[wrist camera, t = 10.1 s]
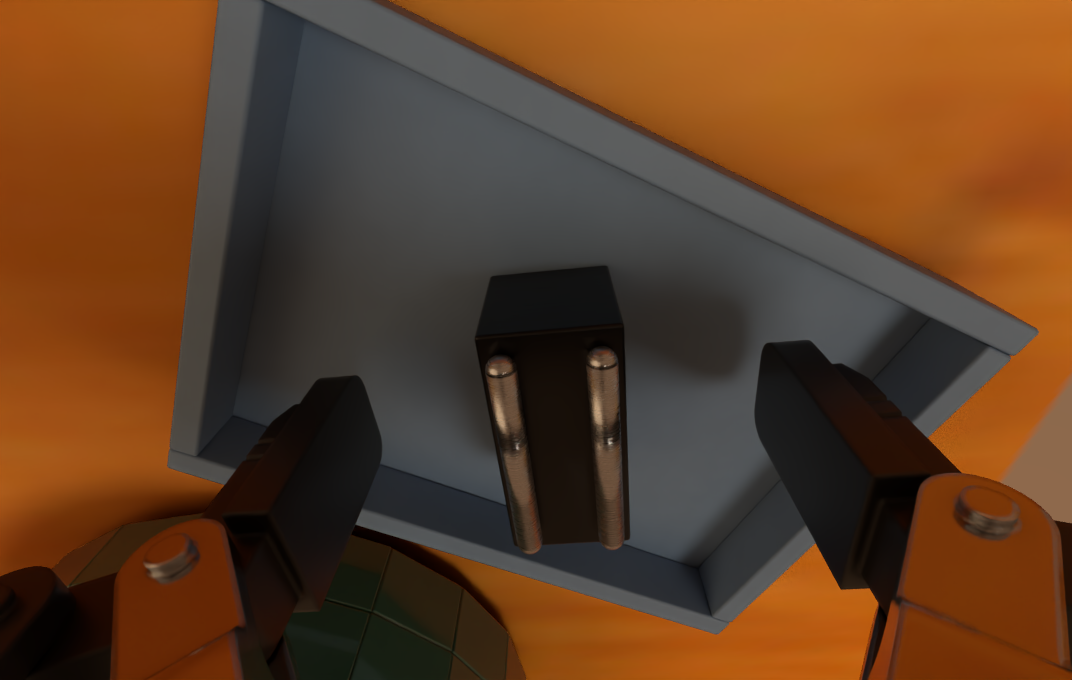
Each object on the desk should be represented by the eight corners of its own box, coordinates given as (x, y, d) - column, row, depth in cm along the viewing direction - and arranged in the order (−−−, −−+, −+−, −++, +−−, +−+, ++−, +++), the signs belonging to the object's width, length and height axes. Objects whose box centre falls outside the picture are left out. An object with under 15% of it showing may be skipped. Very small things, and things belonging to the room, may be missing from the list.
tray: (294, -47, 8) (223, -74, 7) (960, 285, 11) (1042, 332, 9) (219, 409, 13) (165, 468, 11) (698, 567, 16) (717, 636, 14)
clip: (489, 275, 10) (468, 353, 8) (608, 263, 10) (629, 340, 8) (520, 460, 13) (512, 569, 10) (616, 454, 13) (634, 563, 10)
